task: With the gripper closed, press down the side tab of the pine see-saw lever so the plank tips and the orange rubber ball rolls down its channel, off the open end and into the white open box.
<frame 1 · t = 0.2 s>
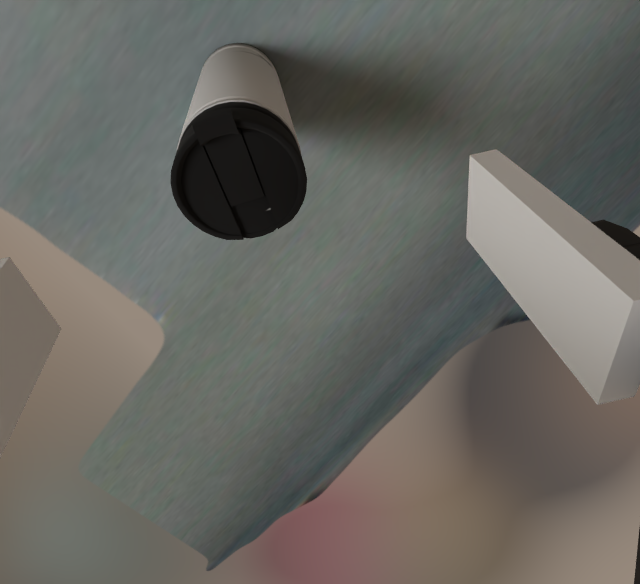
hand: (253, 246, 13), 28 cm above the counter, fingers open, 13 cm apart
travel mug: (239, 84, 36), on the counter
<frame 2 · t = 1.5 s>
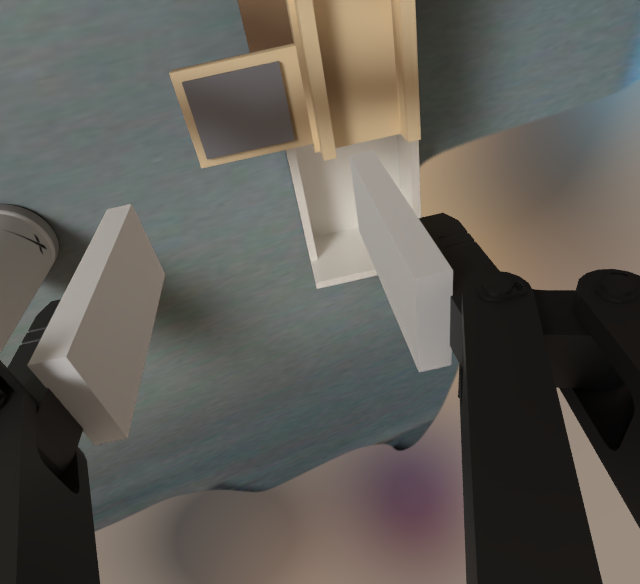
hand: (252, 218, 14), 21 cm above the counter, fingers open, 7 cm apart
white open box: (349, 177, 37), on the counter
travel mug: (17, 235, 36), on the counter
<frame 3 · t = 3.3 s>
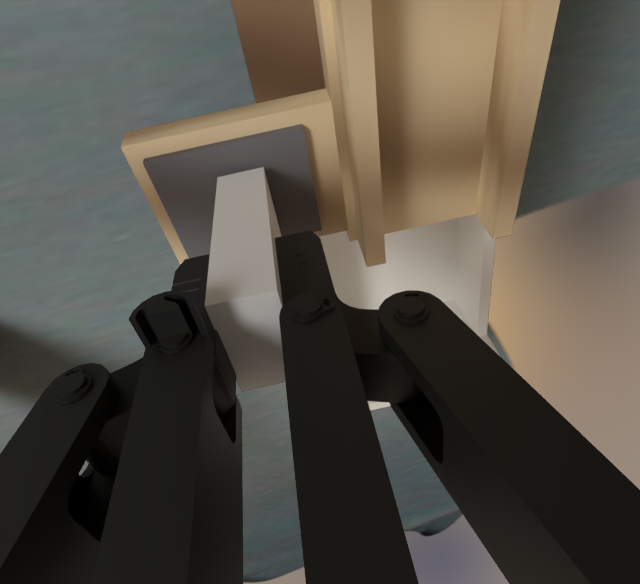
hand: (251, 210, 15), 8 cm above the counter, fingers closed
white open box: (388, 252, 27), on the counter
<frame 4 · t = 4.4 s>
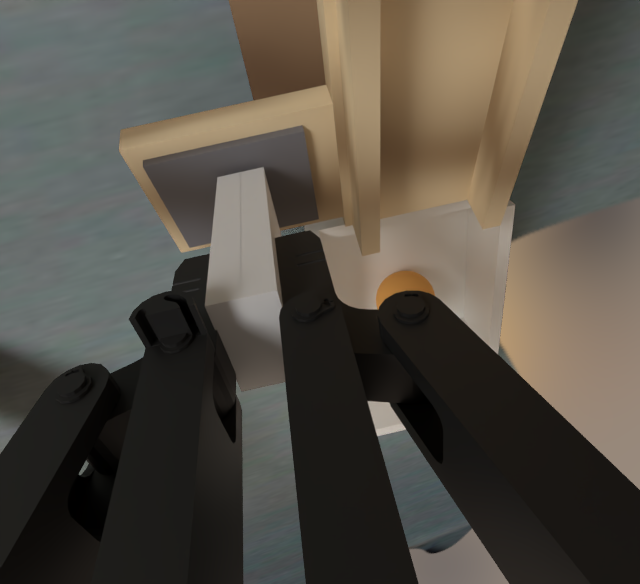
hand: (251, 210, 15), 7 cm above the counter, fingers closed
white open box: (395, 269, 26), on the counter
ball: (405, 299, 25), point 2 cm above the counter, tilted 5°, touching white open box
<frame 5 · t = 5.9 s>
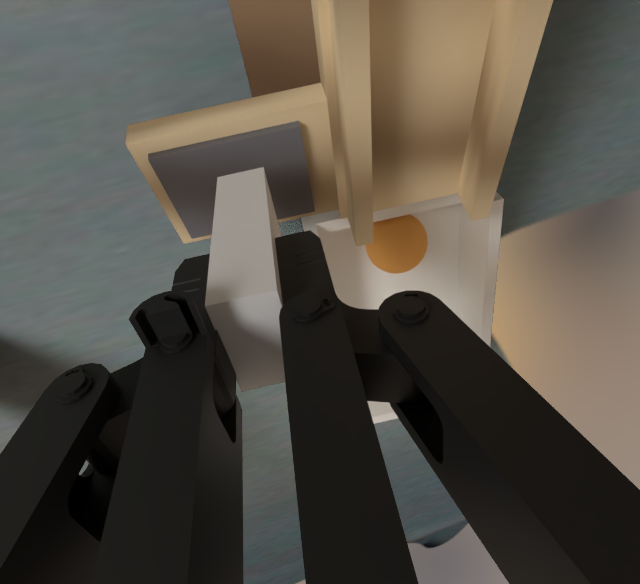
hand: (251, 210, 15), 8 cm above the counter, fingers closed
white open box: (390, 263, 27), on the counter
ball: (396, 242, 23), point 2 cm above the counter, tilted 125°, touching white open box
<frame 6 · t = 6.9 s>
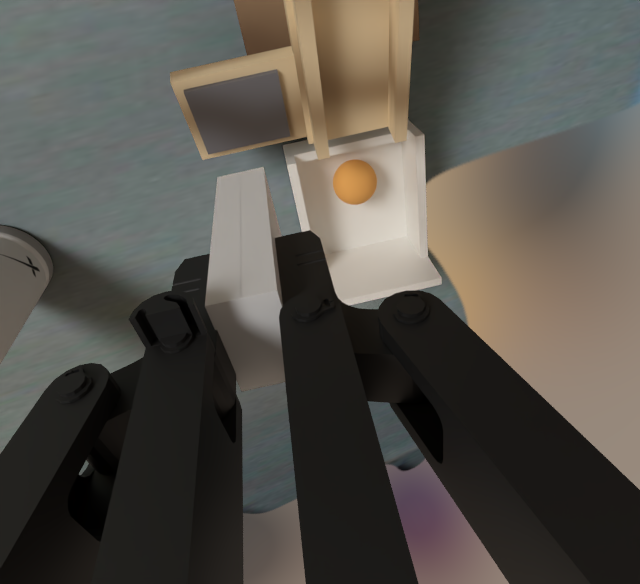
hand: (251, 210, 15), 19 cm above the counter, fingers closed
white open box: (353, 195, 36), on the counter
travel mug: (10, 256, 35), on the counter
ball: (354, 182, 33), point 2 cm above the counter, tilted 99°, touching white open box
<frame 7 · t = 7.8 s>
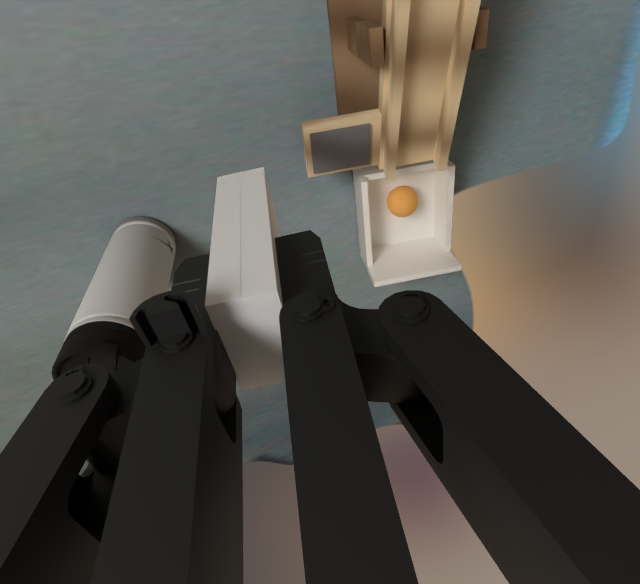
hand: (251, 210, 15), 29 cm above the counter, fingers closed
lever: (382, 49, 32), point 9 cm above the counter, hinge at 19.0°
white open box: (397, 204, 49), on the counter
stand: (392, 24, 39), on the counter
travel mug: (146, 240, 47), on the counter
ball: (402, 201, 46), point 2 cm above the counter, tilted 76°, touching white open box
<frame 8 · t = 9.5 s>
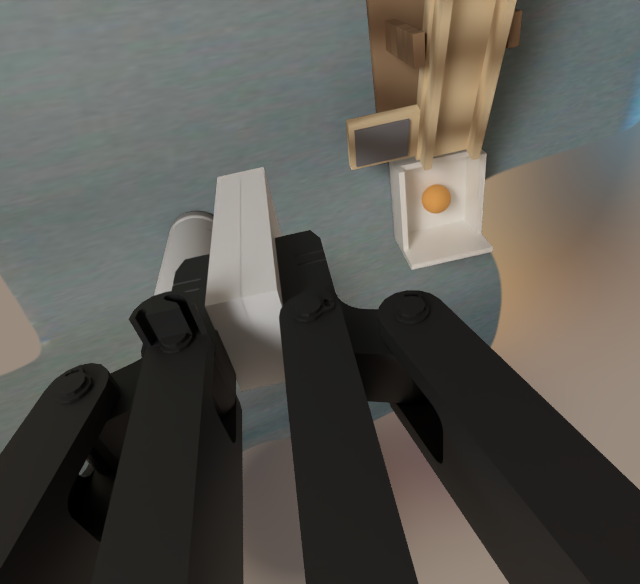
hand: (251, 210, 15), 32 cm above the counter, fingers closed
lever: (423, 52, 35), point 9 cm above the counter, hinge at 19.0°
white open box: (430, 191, 52), on the counter
stand: (427, 24, 41), on the counter
travel mug: (199, 232, 51), on the counter
ball: (436, 198, 50), point 2 cm above the counter, tilted 31°, touching white open box
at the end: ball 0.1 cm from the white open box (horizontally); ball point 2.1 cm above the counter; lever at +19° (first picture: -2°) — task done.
